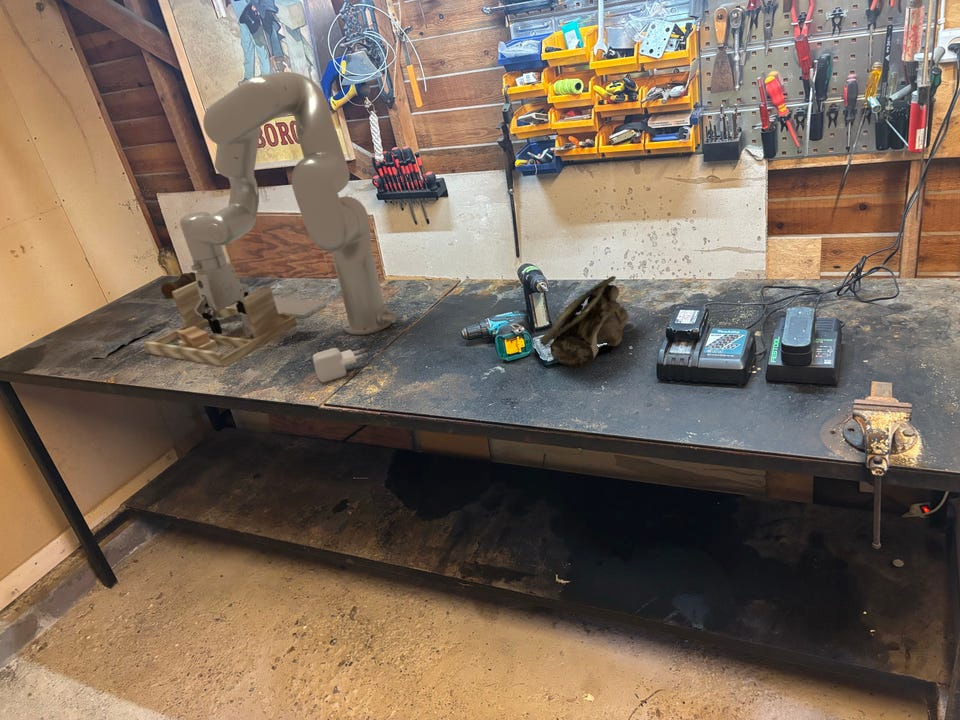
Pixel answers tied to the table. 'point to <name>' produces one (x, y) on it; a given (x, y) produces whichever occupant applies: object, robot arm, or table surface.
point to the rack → (261, 320)
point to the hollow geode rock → (587, 326)
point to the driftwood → (122, 342)
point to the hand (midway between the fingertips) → (231, 325)
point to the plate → (297, 306)
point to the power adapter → (334, 363)
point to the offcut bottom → (202, 346)
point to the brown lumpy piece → (177, 284)
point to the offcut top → (194, 336)
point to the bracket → (240, 317)
